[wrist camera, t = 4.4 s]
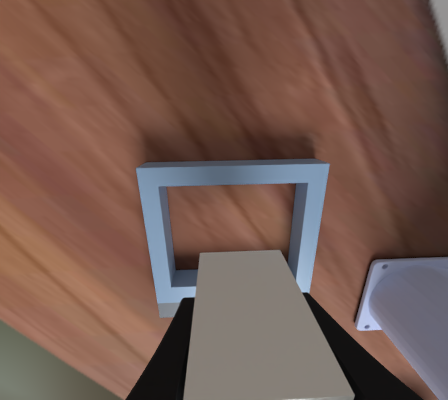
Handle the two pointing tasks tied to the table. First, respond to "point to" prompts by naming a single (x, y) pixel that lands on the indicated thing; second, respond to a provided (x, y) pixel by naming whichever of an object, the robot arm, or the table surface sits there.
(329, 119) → the table surface
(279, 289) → the cream white block
